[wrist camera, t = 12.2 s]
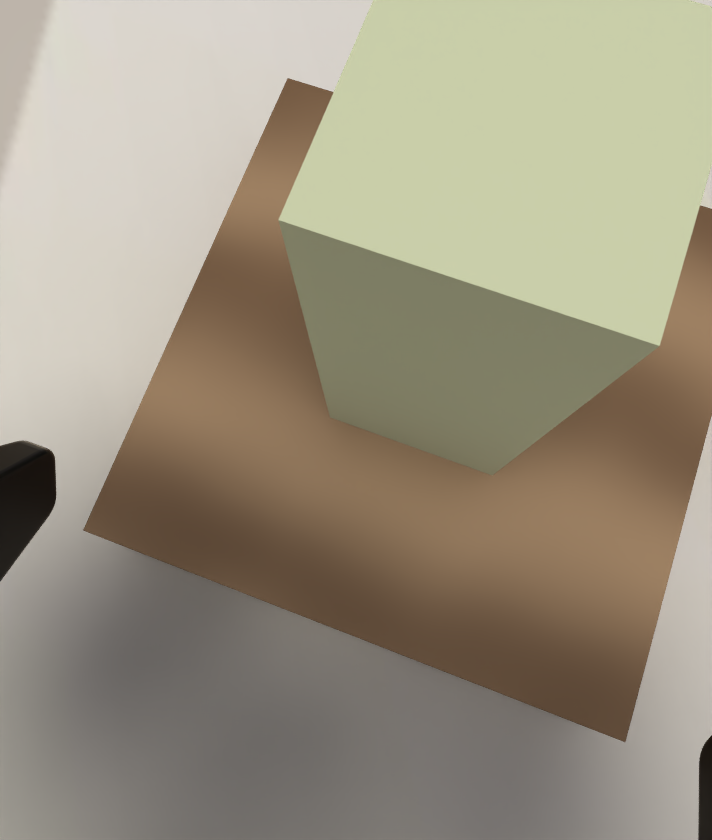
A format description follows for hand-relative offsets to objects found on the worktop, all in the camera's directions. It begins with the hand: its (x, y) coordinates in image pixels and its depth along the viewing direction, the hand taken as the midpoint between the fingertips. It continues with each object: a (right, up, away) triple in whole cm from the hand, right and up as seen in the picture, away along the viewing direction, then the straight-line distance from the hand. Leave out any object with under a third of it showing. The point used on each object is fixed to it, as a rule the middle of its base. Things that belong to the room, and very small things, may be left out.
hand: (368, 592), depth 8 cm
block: (+2, +4, +9) cm, 10 cm away
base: (+2, +3, +12) cm, 13 cm away
